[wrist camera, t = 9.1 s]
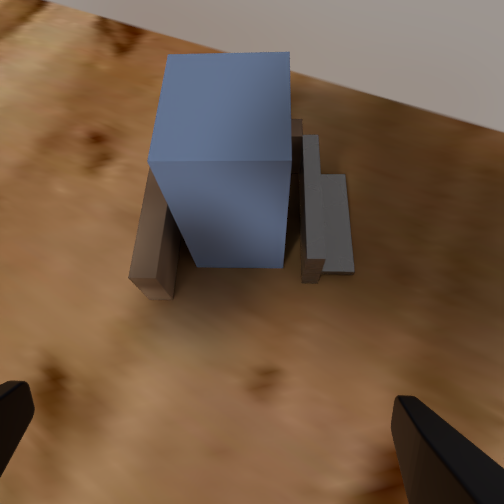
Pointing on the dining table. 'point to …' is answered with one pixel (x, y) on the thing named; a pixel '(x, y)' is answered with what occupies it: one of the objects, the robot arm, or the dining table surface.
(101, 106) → the dining table surface
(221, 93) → the book
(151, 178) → the rack
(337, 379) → the dining table surface
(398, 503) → the dining table surface
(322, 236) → the bookend
